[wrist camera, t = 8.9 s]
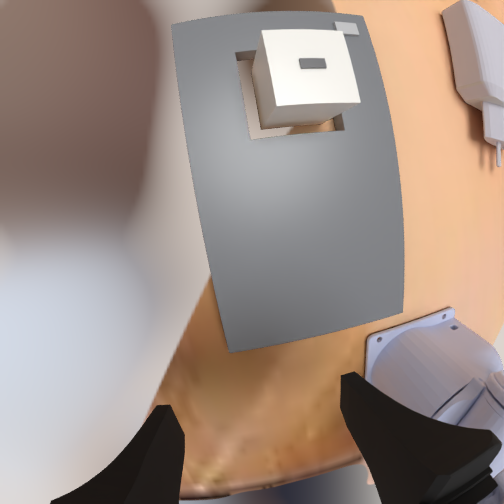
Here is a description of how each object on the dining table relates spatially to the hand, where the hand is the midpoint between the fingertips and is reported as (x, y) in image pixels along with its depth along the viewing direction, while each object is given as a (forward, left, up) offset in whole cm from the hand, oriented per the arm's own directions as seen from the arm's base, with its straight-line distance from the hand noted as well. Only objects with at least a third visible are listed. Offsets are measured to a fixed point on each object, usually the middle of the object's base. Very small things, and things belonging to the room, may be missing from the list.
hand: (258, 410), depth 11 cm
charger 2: (-25, -16, -10) cm, 31 cm away
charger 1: (-5, -14, -10) cm, 17 cm away
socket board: (-5, -9, -9) cm, 14 cm away
